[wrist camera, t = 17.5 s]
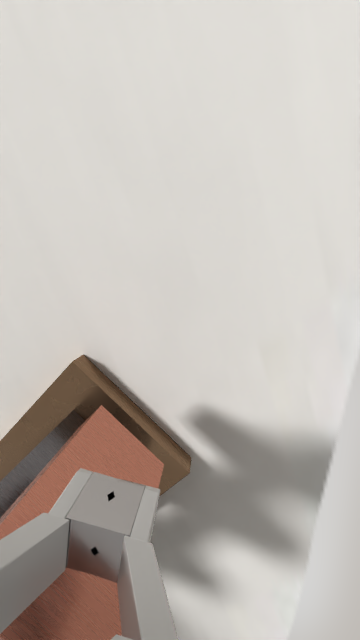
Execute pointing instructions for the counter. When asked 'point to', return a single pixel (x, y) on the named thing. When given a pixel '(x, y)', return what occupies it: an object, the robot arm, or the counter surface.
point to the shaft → (39, 497)
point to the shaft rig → (66, 417)
